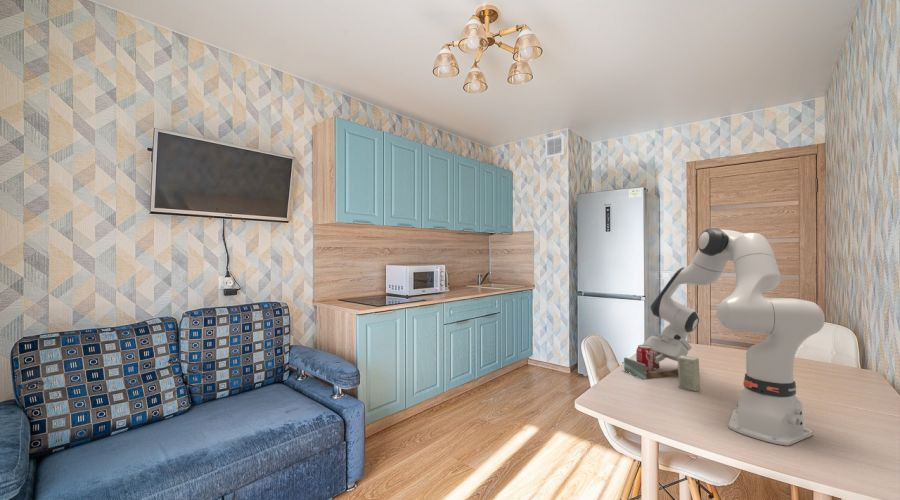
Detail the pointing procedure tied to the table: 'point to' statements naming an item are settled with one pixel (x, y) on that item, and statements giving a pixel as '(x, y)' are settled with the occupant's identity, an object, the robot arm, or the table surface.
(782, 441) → the robot arm
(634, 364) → the can dock
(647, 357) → the soda can
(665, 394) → the table surface
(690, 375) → the skincare box
